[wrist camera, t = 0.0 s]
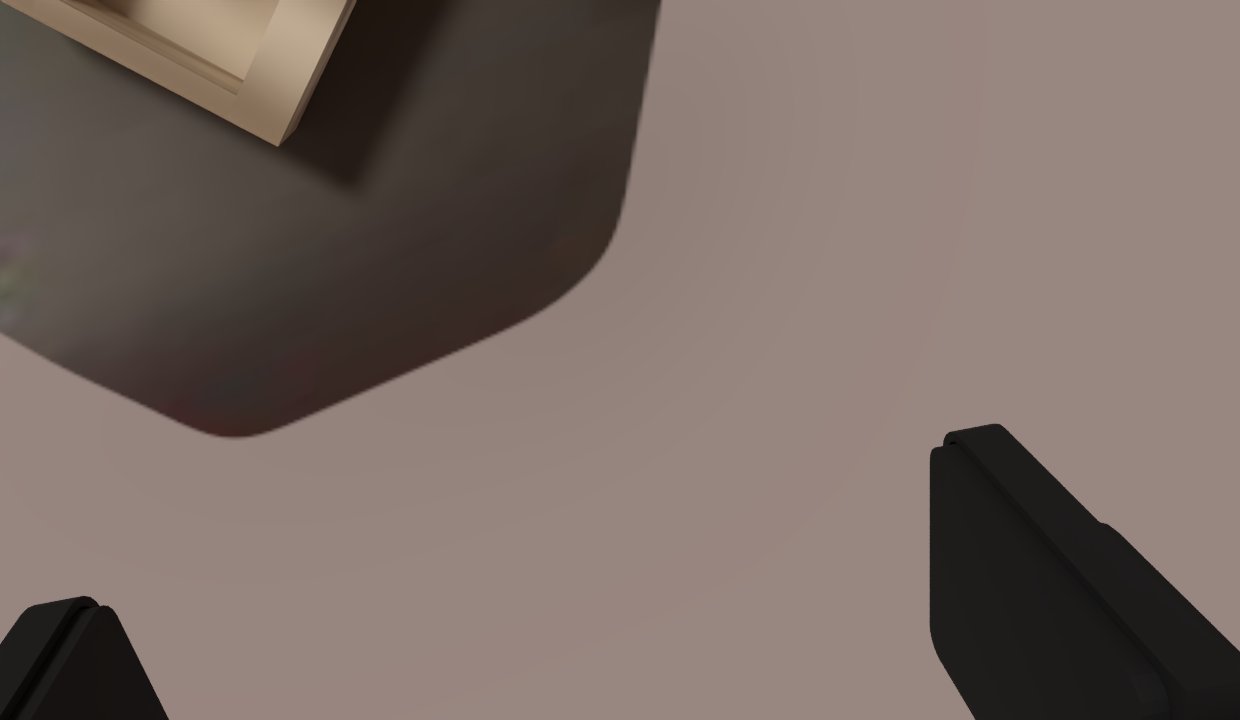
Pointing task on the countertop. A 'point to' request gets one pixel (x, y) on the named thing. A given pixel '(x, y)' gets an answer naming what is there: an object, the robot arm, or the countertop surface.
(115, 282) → the countertop surface
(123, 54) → the bottle rest
